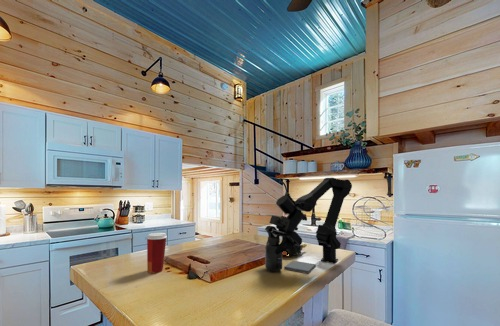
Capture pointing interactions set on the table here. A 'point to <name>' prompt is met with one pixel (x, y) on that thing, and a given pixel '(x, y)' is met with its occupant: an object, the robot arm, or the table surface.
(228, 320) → the table surface
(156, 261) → the paper cup
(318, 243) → the robot arm
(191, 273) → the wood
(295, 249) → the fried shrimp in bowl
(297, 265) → the mat
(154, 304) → the table surface
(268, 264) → the supplement bottle
